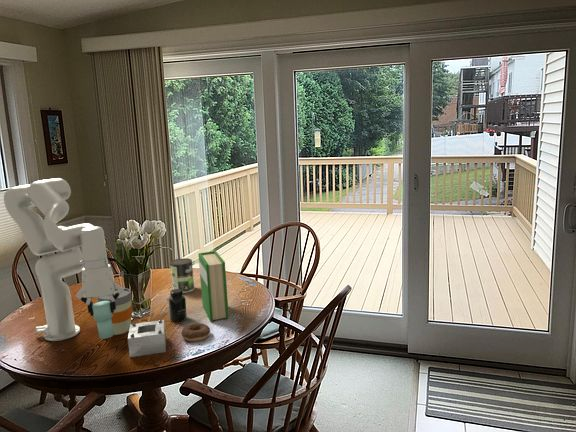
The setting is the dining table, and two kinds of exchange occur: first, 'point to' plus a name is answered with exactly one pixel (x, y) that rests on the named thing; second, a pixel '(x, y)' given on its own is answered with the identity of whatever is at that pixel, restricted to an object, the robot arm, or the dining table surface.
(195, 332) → the donut
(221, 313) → the hardback book
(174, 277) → the coffee can
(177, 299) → the supplement bottle
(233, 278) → the dining table surface
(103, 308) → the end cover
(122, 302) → the reusable coffee cup
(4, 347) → the dining table surface
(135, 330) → the housing
